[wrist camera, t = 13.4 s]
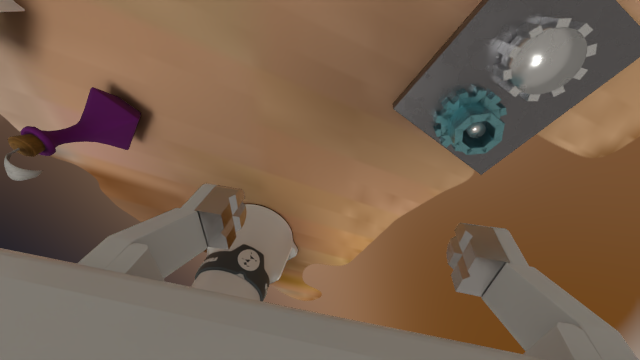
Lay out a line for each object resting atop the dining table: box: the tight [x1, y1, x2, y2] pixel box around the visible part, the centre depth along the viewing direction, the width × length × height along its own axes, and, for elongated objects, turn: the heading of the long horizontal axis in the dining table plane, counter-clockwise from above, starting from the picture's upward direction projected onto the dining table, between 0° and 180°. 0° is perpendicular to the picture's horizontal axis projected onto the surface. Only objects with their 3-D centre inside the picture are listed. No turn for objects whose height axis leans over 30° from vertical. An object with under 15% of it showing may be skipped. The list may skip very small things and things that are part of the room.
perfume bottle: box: [4, 87, 141, 181], centre depth 37 cm, size 8×8×18 cm
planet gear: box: [433, 87, 507, 155], centre depth 31 cm, size 8×8×5 cm
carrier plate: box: [393, 0, 640, 174], centre depth 30 cm, size 20×16×6 cm
